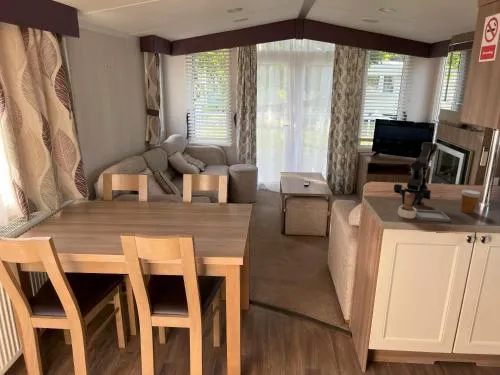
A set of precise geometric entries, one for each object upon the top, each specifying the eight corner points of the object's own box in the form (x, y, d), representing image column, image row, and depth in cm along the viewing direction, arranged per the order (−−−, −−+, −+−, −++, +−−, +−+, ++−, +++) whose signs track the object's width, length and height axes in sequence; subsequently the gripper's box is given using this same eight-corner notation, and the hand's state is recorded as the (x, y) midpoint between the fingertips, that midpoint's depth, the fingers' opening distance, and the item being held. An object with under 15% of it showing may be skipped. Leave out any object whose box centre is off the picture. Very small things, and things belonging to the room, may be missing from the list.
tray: (413, 211, 209) (413, 209, 209) (440, 213, 208) (441, 210, 208) (420, 220, 198) (421, 217, 197) (450, 221, 197) (450, 219, 196)
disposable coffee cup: (471, 209, 217) (476, 189, 214) (479, 215, 208) (484, 194, 205) (454, 208, 218) (458, 188, 215) (461, 213, 209) (466, 193, 206)
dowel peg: (403, 213, 207) (407, 191, 203) (412, 215, 204) (416, 193, 200) (400, 215, 203) (404, 193, 199) (409, 217, 200) (413, 195, 197)
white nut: (401, 211, 209) (402, 204, 208) (416, 215, 204) (418, 208, 203) (395, 215, 203) (397, 208, 202) (411, 219, 198) (413, 212, 197)
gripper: (397, 169, 205) (388, 193, 199) (434, 175, 195) (426, 201, 189) (398, 180, 213) (390, 203, 208) (434, 186, 203) (426, 211, 198)
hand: (407, 204), depth 200 cm, fingers closed on dowel peg, 5 cm apart
